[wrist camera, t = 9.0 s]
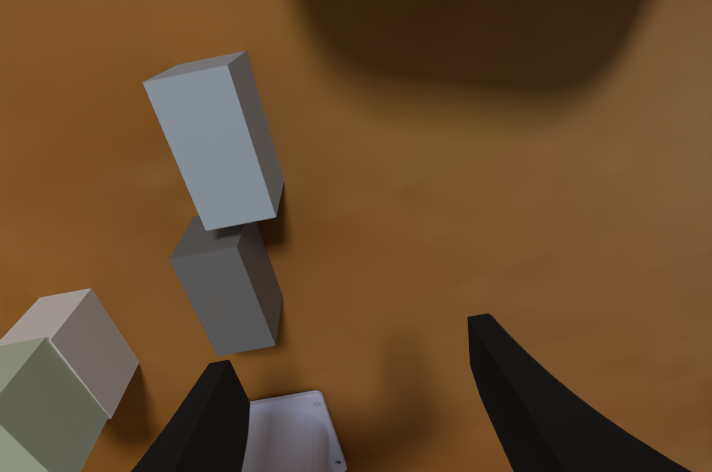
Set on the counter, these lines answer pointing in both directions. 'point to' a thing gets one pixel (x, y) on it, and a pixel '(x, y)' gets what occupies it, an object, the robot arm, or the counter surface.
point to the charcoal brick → (230, 285)
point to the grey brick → (81, 342)
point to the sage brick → (44, 411)
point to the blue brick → (219, 138)
